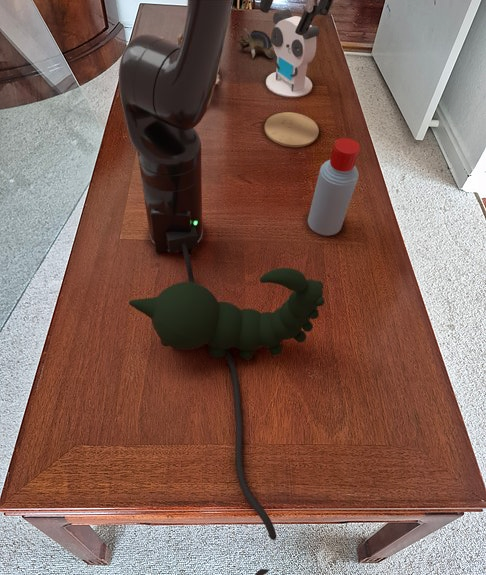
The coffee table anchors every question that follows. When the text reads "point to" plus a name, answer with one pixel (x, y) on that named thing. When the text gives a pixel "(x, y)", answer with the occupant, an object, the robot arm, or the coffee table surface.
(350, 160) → the bottle cap
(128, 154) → the coffee table surface
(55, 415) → the coffee table surface
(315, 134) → the coaster
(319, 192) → the bottle
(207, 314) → the toy figurine
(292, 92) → the panda figurine
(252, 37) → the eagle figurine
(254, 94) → the coffee table surface
